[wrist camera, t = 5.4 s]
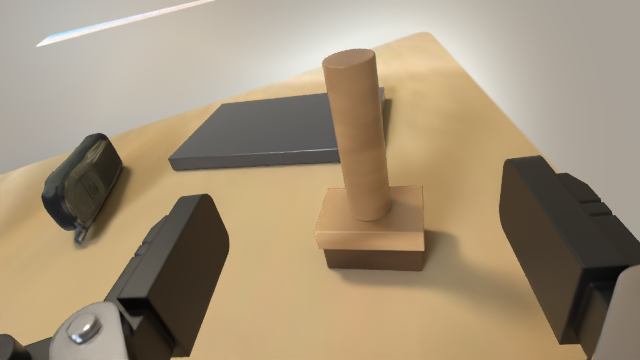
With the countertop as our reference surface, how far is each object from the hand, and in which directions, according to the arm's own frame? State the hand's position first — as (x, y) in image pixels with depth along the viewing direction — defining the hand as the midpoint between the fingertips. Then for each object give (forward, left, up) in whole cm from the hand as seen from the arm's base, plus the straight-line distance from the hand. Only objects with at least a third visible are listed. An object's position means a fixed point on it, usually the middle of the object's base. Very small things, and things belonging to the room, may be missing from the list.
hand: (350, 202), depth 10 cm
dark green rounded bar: (-30, +16, -12) cm, 36 cm away
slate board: (-13, +28, -12) cm, 33 cm away
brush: (-1, +10, -12) cm, 16 cm away
